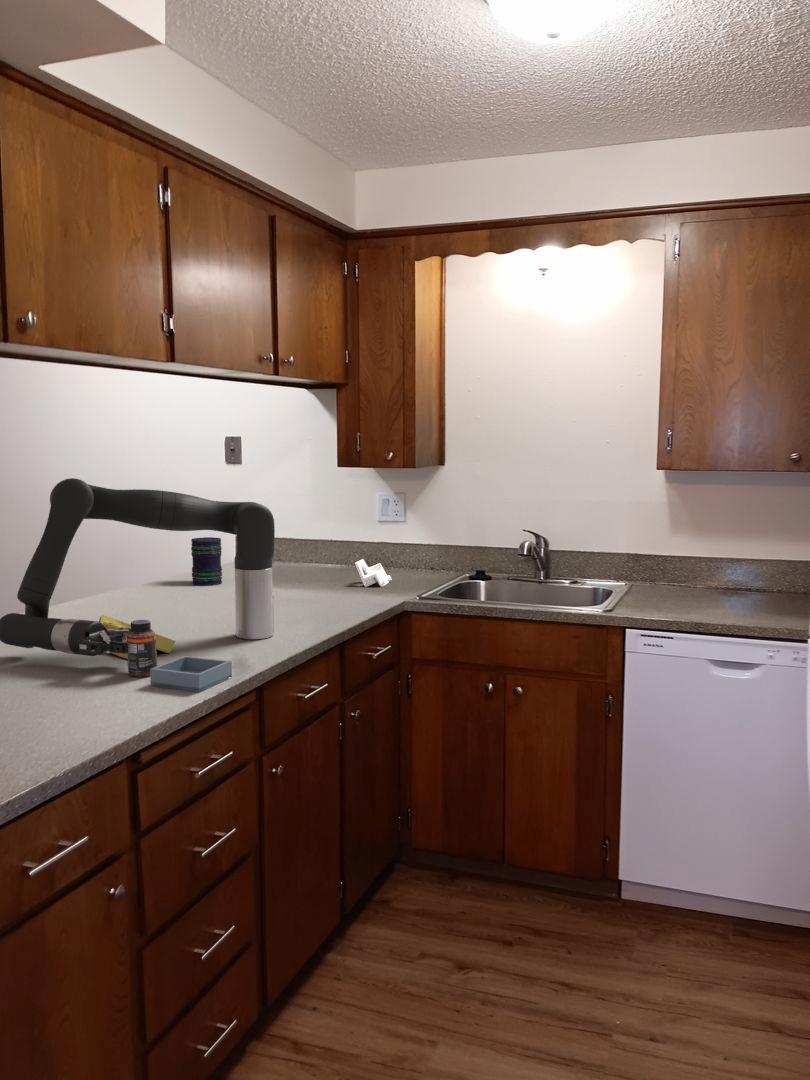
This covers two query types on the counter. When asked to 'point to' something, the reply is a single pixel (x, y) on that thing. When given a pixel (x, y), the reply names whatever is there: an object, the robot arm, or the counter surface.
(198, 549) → the storage jar
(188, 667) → the parts tray
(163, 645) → the plastic component
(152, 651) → the supplement bottle
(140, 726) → the counter surface
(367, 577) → the mounting bracket
